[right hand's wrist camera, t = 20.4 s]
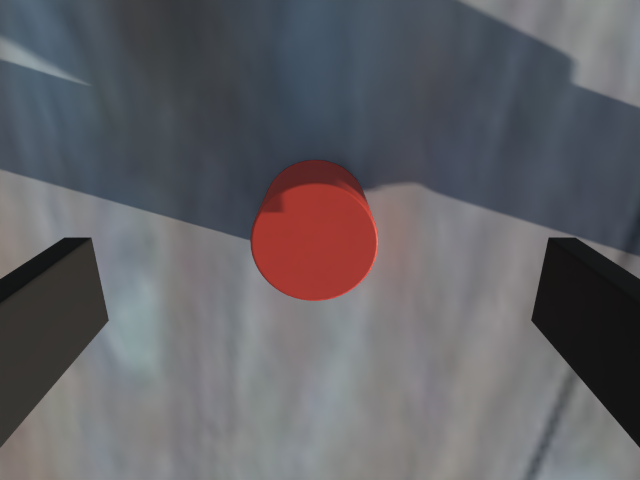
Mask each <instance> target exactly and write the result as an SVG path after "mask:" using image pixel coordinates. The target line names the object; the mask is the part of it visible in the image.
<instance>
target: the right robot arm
mask: <svg viewBox="0 0 640 480" xmlns="http://www.w3.org/2000/svg"><path fill="white" fill-rule="evenodd" d="M108 321H109V320H108V315H107V310H106V305H105V301H104V296H103V291H102V286H101V281H100V277H99V272H98V267H97V262H96V258H95V253H94V248H93V243H92V239H91V238H63V239H62V240H60V241H59V242H57V243H55V244H54V245H52V246H51V247H49V248H48V249H46V250H45V251H43V252H42V253H40V254H38V255H37V256H35V257H34V258H32V259H31V260H29V261H28V262H26V263H25V264H23V265H21V266H20V267H18V268H17V269H15V270H14V271H12V272H11V273H9V274H8V275H6V276H4V277H3V278H1V279H0V447H1V446H2V445H3V444H4V443H5V442H6V440H7V439H8V438H9V437H10V436H11V434H12V433H13V432H14V431H15V430H16V429H17V427H18V426H19V425H20V424H21V423H22V422H23V420H24V419H25V418H26V417H27V416H28V415H29V413H30V412H31V411H32V410H33V409H34V407H35V406H36V405H37V404H38V403H39V402H40V400H41V399H42V398H43V397H44V396H45V395H46V393H47V392H48V391H49V390H50V389H51V388H52V386H53V385H54V384H55V383H56V382H57V380H58V379H59V378H60V377H61V376H62V375H63V373H64V372H65V371H66V370H67V369H68V368H69V366H70V365H71V364H72V363H73V362H74V361H75V359H76V358H77V357H78V356H79V355H80V353H81V352H82V351H83V350H84V349H85V348H86V346H87V345H88V344H89V343H90V342H91V341H92V339H93V338H94V337H95V336H96V335H97V334H98V332H99V331H100V330H101V329H102V328H103V327H104V325H105V324H106V323H107V322H108ZM531 321H532V322H533V323H534V324H535V325H536V327H537V328H538V329H539V330H540V331H541V332H542V334H543V335H544V336H545V337H546V338H547V339H548V341H549V342H550V343H551V344H552V345H553V346H554V348H555V349H556V350H557V351H558V352H559V353H560V355H561V356H562V357H563V358H564V359H565V361H566V362H567V363H568V364H569V365H570V366H571V368H572V369H573V370H574V371H575V372H576V373H577V375H578V376H579V377H580V378H581V379H582V380H583V382H584V383H585V384H586V385H587V386H588V388H589V389H590V390H591V391H592V392H593V393H594V395H595V396H596V397H597V398H598V399H599V400H600V402H601V403H602V404H603V405H604V406H605V407H606V409H607V410H608V411H609V412H610V413H611V415H612V416H613V417H614V418H615V419H616V420H617V422H618V423H619V424H620V425H621V426H622V427H623V429H624V430H625V431H626V432H627V433H628V434H629V436H630V437H631V438H632V439H633V440H634V442H635V443H636V444H637V445H638V446H639V447H640V279H639V278H637V277H636V276H634V275H632V274H631V273H629V272H628V271H626V270H625V269H623V268H622V267H620V266H619V265H617V264H615V263H614V262H612V261H611V260H609V259H608V258H606V257H605V256H603V255H602V254H600V253H598V252H597V251H595V250H594V249H592V248H591V247H589V246H588V245H586V244H585V243H583V242H581V241H580V240H578V239H577V238H549V239H548V243H547V248H546V253H545V258H544V262H543V267H542V272H541V277H540V281H539V286H538V291H537V296H536V301H535V305H534V310H533V315H532V320H531Z"/></svg>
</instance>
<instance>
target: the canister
mask: <svg viewBox="0 0 640 480" xmlns="http://www.w3.org/2000/svg"><path fill="white" fill-rule="evenodd" d="M377 249H378V233H377V229H376V225H375V222H374V219H373V217H372V214H371V211H370V208H369V206H368V203H367V200H366V198H365V195H364V192H363V190H362V188H361V186H360V184H359V183H358V181H357V180H356V179H355V177H354V176H353V175H352V174H351V173H350V172H348V171H347V170H346V169H344V168H342V167H341V166H339V165H337V164H334V163H332V162H328V161H323V160H308V161H303V162H299V163H296V164H294V165H291V166H290V167H288V168H286V169H285V170H284V171H282V172H281V173H280V174H279V175H278V176H277V177H276V178H275V179H274V181H273V182H272V183H271V185H270V187H269V189H268V191H267V193H266V196H265V198H264V200H263V202H262V205H261V207H260V209H259V211H258V214H257V216H256V218H255V221H254V223H253V227H252V231H251V251H252V256H253V258H254V261H255V264H256V266H257V268H258V270H259V271H260V273H261V274H262V276H263V277H264V278H265V279H266V280H267V281H268V282H269V283H270V284H271V285H272V286H273V287H275V288H276V289H278V290H279V291H281V292H282V293H284V294H286V295H289V296H291V297H294V298H298V299H302V300H309V301H320V300H327V299H332V298H335V297H338V296H341V295H343V294H345V293H347V292H349V291H350V290H352V289H353V288H355V287H356V286H357V285H358V284H359V283H360V282H361V281H362V280H363V279H364V278H365V277H366V275H367V274H368V273H369V271H370V270H371V268H372V266H373V264H374V261H375V258H376V255H377Z"/></svg>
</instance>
